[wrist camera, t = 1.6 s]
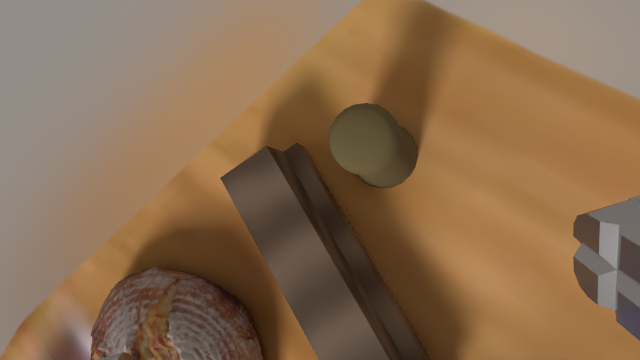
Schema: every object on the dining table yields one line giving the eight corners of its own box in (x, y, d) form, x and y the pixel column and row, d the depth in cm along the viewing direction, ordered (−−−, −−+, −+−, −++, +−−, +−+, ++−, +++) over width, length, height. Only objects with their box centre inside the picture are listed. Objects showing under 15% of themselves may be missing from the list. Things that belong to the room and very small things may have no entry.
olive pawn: (339, 145, 44) (302, 124, 34) (394, 109, 43) (374, 75, 32) (372, 200, 43) (345, 195, 32) (430, 165, 42) (421, 147, 31)
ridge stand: (237, 190, 47) (207, 187, 41) (303, 146, 45) (280, 136, 39) (375, 441, 41) (361, 477, 36) (454, 400, 40) (454, 431, 34)
